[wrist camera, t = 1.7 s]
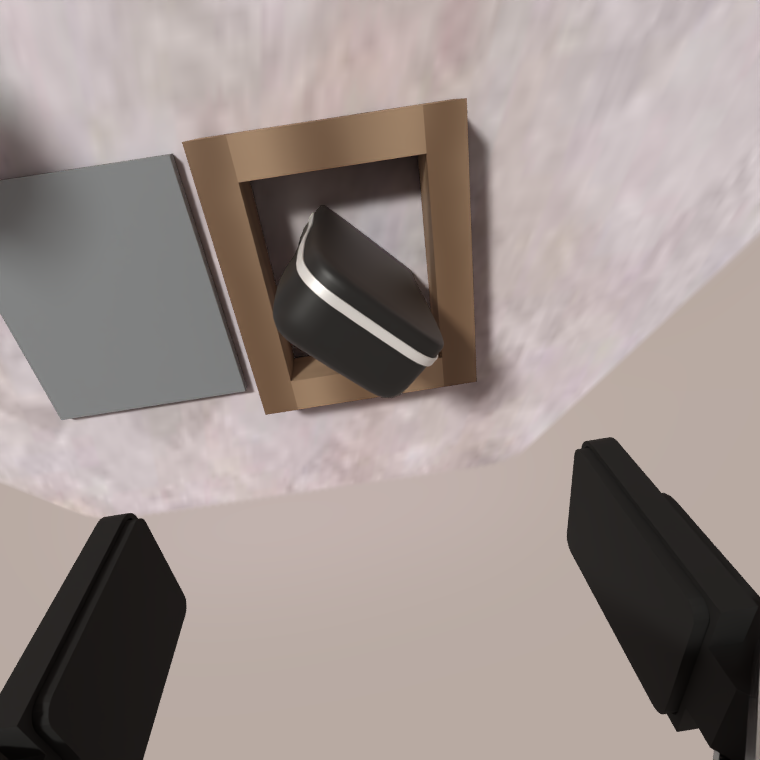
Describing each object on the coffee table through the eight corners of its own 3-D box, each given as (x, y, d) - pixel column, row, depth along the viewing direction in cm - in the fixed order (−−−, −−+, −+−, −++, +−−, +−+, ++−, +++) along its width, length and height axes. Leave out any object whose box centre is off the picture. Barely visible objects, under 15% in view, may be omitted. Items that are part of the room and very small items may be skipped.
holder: (452, 99, 24) (466, 98, 22) (464, 359, 32) (476, 381, 29) (198, 138, 24) (181, 142, 22) (271, 389, 32) (265, 414, 29)
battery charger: (280, 254, 27) (250, 337, 17) (318, 198, 26) (308, 253, 16) (377, 320, 30) (397, 426, 20) (415, 272, 29) (458, 360, 19)
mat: (172, 153, 24) (169, 154, 24) (246, 386, 31) (245, 391, 31) (-61, 189, 24) (-70, 191, 24) (65, 414, 31) (61, 420, 31)
